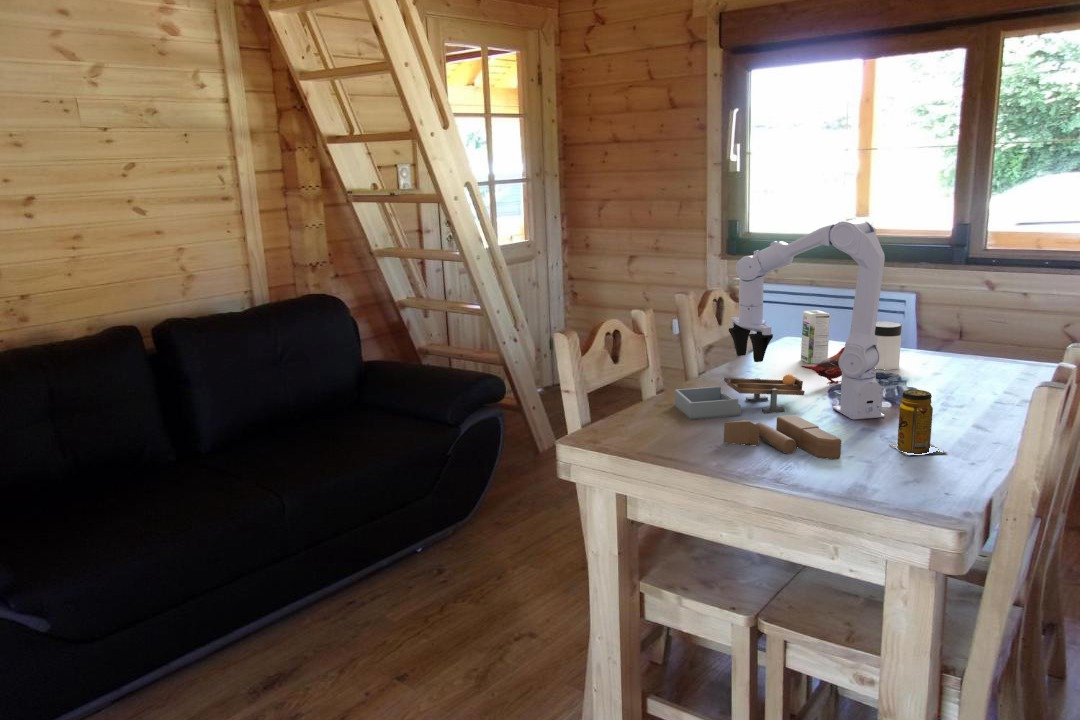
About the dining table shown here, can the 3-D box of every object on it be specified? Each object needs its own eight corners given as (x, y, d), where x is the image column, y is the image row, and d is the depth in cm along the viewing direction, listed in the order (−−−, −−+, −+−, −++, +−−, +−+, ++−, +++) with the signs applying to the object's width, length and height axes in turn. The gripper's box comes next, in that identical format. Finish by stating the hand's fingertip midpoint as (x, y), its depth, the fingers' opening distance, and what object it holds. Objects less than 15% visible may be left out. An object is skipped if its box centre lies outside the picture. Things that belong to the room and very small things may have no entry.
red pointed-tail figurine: (859, 382, 218) (861, 344, 216) (803, 390, 212) (805, 352, 210) (851, 379, 221) (853, 342, 218) (796, 388, 215) (797, 350, 212)
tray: (740, 415, 194) (740, 399, 193) (690, 419, 192) (690, 403, 191) (722, 401, 205) (722, 386, 204) (674, 405, 204) (674, 389, 203)
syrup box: (799, 360, 243) (801, 310, 240) (818, 358, 244) (820, 309, 241) (809, 364, 238) (811, 314, 235) (828, 362, 239) (830, 312, 236)
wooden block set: (792, 408, 181) (844, 433, 164) (791, 433, 182) (842, 460, 165) (721, 417, 176) (766, 443, 159) (721, 442, 177) (765, 471, 161)
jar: (867, 362, 238) (869, 320, 235) (898, 363, 235) (900, 321, 233) (867, 369, 230) (870, 327, 227) (899, 371, 227) (902, 328, 224)
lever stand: (765, 398, 206) (765, 377, 205) (784, 411, 195) (785, 389, 194) (745, 400, 206) (746, 378, 204) (764, 413, 195) (765, 390, 193)
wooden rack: (783, 383, 208) (784, 371, 207) (804, 395, 197) (805, 382, 196) (722, 381, 206) (723, 369, 205) (739, 393, 194) (741, 380, 194)
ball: (795, 389, 199) (799, 377, 198) (783, 386, 198) (788, 374, 198) (789, 386, 202) (793, 374, 201) (778, 383, 201) (782, 371, 201)
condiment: (888, 445, 171) (892, 388, 168) (927, 442, 172) (932, 386, 169) (907, 457, 164) (911, 398, 161) (948, 454, 165) (952, 395, 162)
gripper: (782, 307, 199) (781, 362, 203) (748, 298, 213) (746, 350, 216) (757, 310, 197) (756, 366, 200) (724, 301, 210) (723, 353, 214)
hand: (749, 358), depth 208 cm, fingers open, 7 cm apart
